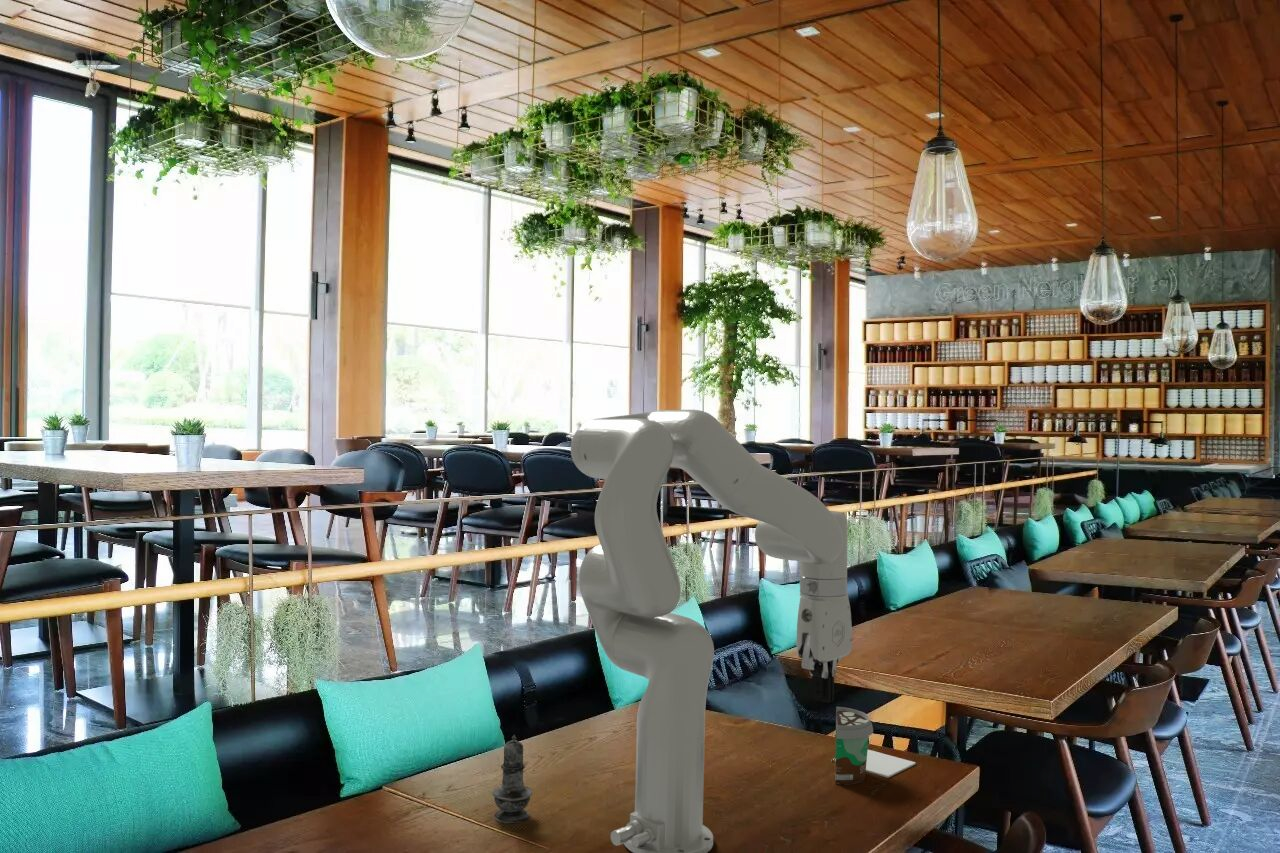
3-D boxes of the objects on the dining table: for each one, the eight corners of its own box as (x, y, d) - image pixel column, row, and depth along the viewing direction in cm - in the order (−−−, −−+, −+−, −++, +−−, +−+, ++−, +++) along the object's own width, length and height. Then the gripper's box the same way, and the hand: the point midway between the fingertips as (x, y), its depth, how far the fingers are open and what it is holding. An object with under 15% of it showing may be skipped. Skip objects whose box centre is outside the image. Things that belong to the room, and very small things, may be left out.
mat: (887, 777, 159) (887, 776, 159) (831, 761, 167) (831, 759, 167) (915, 764, 166) (915, 762, 166) (860, 749, 174) (860, 747, 174)
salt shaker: (512, 805, 143) (514, 726, 143) (540, 816, 139) (542, 734, 140) (483, 816, 138) (485, 735, 139) (510, 828, 135) (513, 744, 135)
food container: (873, 791, 153) (875, 729, 153) (835, 787, 154) (836, 726, 154) (870, 765, 165) (871, 708, 165) (835, 762, 166) (836, 705, 166)
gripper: (817, 596, 144) (817, 715, 144) (867, 584, 155) (866, 695, 155) (777, 590, 149) (776, 705, 149) (828, 579, 160) (827, 686, 160)
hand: (822, 700), depth 152 cm, fingers closed
